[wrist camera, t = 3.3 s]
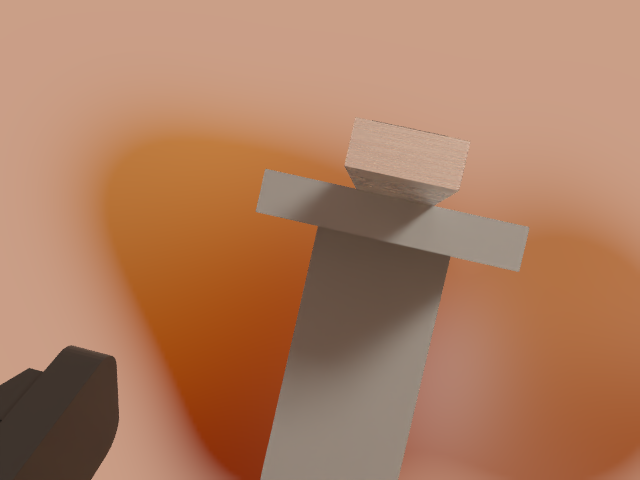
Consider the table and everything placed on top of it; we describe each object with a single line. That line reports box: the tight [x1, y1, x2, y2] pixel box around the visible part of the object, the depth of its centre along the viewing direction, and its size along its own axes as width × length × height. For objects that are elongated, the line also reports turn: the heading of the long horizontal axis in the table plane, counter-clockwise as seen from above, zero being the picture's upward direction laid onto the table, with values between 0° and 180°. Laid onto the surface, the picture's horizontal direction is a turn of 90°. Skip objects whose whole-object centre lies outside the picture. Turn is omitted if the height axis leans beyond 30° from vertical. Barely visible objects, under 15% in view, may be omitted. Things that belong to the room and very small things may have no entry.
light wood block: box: [345, 118, 470, 206], centre depth 32 cm, size 28×5×6 cm, turn 174°
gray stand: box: [256, 169, 529, 480], centre depth 38 cm, size 20×12×32 cm, turn 174°
